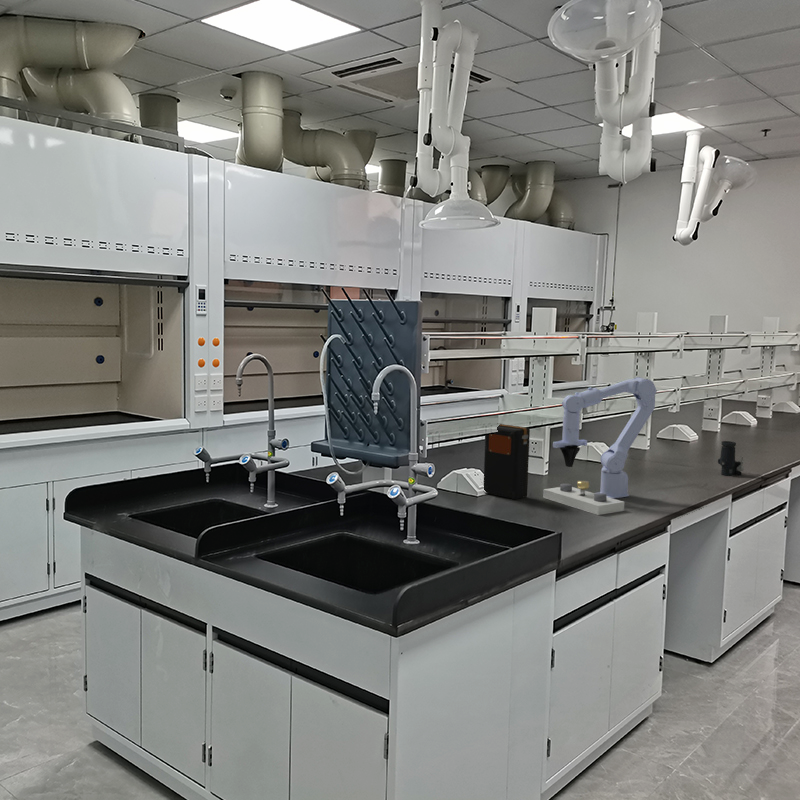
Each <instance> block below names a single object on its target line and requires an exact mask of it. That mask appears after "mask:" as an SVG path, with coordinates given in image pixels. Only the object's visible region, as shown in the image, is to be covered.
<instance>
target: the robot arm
mask: <svg viewBox="0 0 800 800" xmlns="http://www.w3.org/2000/svg"><path fill="white" fill-rule="evenodd" d="M622 393H628V394H629V393H630V394H632V395H633V396H634V398H635V401H636V404H637V407H636V409H635V410H634V412H633V413H632V415H631V417H630V418H629V420H628V421H627V423H626V425H624V428H623V429H622V431H621V433H619V435H618V437H617V439H616V441H615V442H614V443H612V444H611V445H610V446H609V448H608V449H607V450H606V451H604V452H603V453H602V454H601V456H600V459H599V460H600V463H601V466H602V468H601V471H600V490H599V492H597V493H603V494H606V495H607V497H609V498H613V499H620V498H624V497H625V498H626V497H630V494H628V493H629V491H628V489H629V476H628V474H627V472H626V471H624V470H623V469H624V467H625V464H626V460H627V458H628V455H629V454H628V453H629V452H628V451H629V450H630V449H631V447H632V445H633V443H634V442H635V440H636V438H637V437H638V435H639V434H640V432H641V431H642V429H644V426H645V424H646V423H647V421H648V420H649V418H650V416H651V415H652V413H653V411H654V410H655V407H656V394H657V389H656V385H655V384H654V381H652V380H651V379H648V378H643V377H640V376H639V377H638V376H636V377H634V378H628V379H624V380H623V381H619V382H617V383H614V384H611V385H609V386H605V387H603V388H600V389H598V388H597V387H591V386H590V387H588V388H587V390H584V391H581V392H579V391H576V392H575V393H574V395H573V394H568V395H567V396H565V397H564V398H563V399H562V402H561V404H562V408H563V417H562V434H561V435H562V437H561V438H562V439H561V440H557V441H553V442H552V448H554V449H560V451H561V453H562V456H563V459H564V464H565V467H567V468H573V467H574V466H573V465H574V463H575V459H576V457H577V456H578V453H579V451H580V450H581V446H585V447H586V446H588V440H587V439H579V437H580V423H581V421H580V419H581V418H580V417H581V416H580V415H581V414H580V413H581V410H582V409H585V408H589V407H592V406H595V405H598V404H600V403H601V402H602V400H603V399H605V398H608V397H612V396H615V395H620V394H622Z"/></svg>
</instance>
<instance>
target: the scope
mask: <svg viewBox="0 0 800 800" xmlns="http://www.w3.org/2000/svg"><path fill="white" fill-rule="evenodd" d="M736 444H737V443H736V442H735V441H726V440H723V441H721V445H722V446H721V450H720V456H719V457H720V458H718V460H717V463H718V464H719V465H720V466H721V473H720V475H721V476H724V477H732V476H734V475H737V476H739V475H742V474H743V473H742V472H744V470H745V468H744V467H743V466H744V456H741V457H740V460H739V461H736V446H737V445H736Z"/></svg>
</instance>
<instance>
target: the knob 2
mask: <svg viewBox="0 0 800 800" xmlns="http://www.w3.org/2000/svg"><path fill="white" fill-rule="evenodd" d="M594 493H595V494H594V500H595V501H598V502H606V500H607V495H606V494H603V493H598V492H594Z"/></svg>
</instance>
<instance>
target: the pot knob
mask: <svg viewBox="0 0 800 800" xmlns="http://www.w3.org/2000/svg"><path fill="white" fill-rule="evenodd" d="M576 488H578V489H581V490H580V496H585V491H586V490H588V489H589V490H590V481H588V480H577V482H576Z"/></svg>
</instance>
